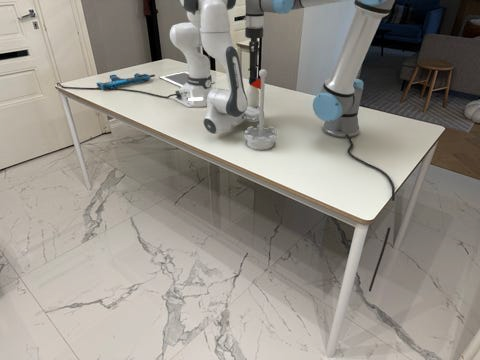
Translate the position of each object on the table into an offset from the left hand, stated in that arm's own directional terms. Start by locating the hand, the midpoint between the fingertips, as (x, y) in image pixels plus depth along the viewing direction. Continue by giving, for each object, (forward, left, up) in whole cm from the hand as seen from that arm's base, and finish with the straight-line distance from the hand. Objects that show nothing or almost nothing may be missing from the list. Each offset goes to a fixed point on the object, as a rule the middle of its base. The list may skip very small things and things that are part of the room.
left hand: (253, 106), depth 158 cm
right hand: (0, -1, +11) cm, 11 cm away
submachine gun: (-96, -6, -6) cm, 97 cm away
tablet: (-70, +20, -6) cm, 73 cm away
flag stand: (+19, -19, -6) cm, 27 cm away
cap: (0, -1, +13) cm, 13 cm away
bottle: (0, -1, -6) cm, 6 cm away
